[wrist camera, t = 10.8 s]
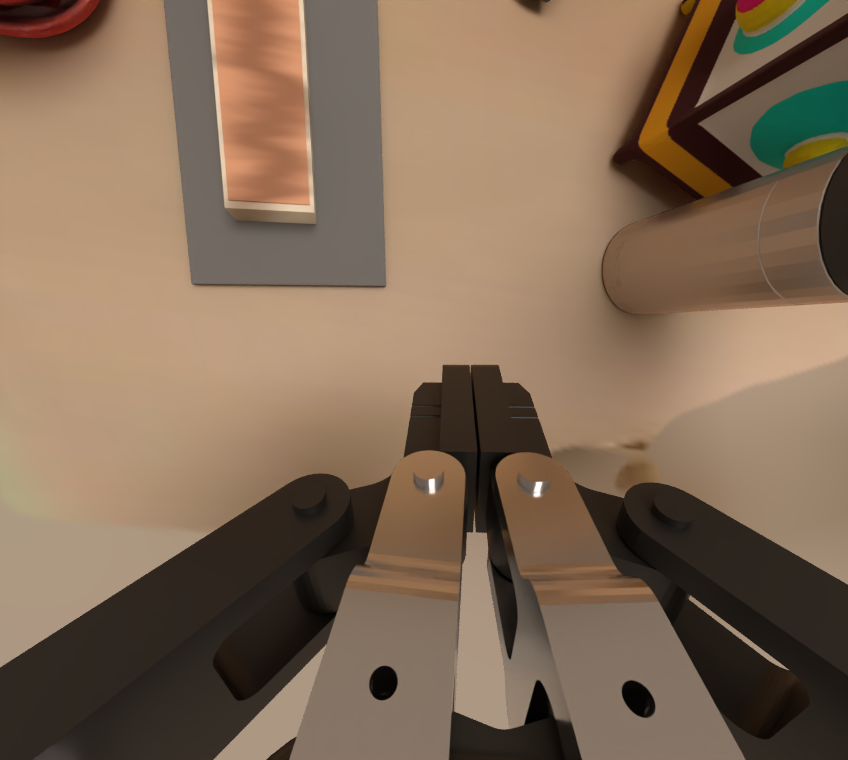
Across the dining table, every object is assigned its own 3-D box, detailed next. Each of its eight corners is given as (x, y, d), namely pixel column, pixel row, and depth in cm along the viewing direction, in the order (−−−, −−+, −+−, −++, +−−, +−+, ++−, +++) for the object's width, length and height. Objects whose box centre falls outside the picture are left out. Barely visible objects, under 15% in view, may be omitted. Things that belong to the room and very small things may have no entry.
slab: (316, 224, 30) (303, -29, 27) (314, 211, 27) (299, -74, 24) (235, 220, 28) (214, -46, 26) (224, 206, 25) (198, -96, 23)
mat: (376, 4, 29) (377, -3, 29) (385, 286, 32) (385, 285, 32) (163, -36, 26) (159, -44, 25) (194, 284, 29) (191, 283, 28)
